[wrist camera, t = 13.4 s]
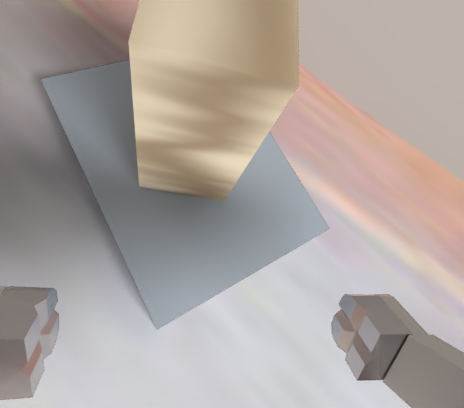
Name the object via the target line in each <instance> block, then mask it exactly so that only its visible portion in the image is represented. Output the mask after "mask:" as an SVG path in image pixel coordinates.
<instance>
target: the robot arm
mask: <svg viewBox="0 0 464 408" xmlns="http://www.w3.org/2000/svg"><path fill="white" fill-rule="evenodd" d="M57 301H58V298H57V290H56V289H54V288H39V287H15V286H10V287H5V286H0V400H6V399H19V398H31V397H33V395H34V393H35V391H36V388H37V386H38V384H39V381H40V379H41V377H42V374H43V372H44V361H43V359H45V358H46V357H47V356H48V355H50V354H51V353H52V350H53V348H54V345H55V343H56V339H57V335H58V331H59V314H58V313H57V312H56V311H55V310H54V307H55V305H56V303H57ZM339 306H340V308H341V310H340V311H338V312H337V313H336V314H335V315H334V317H333V320H332V323H331V326H332V335H333V338H334V341H335V342H336V344H337V346H338V347H339V348H340V349H342V350H343V351H344V352H345V353H346V357H345V360H346V362H347V364H348V366H349V367H350V369H351V371H352V373H353V374H354V376H355V378H356V380H383V382H384V383H385V384H386V385H387V386H388V387H389V388H390V389H392V390H393V391H394V392H395V393H396V394H397V395H398V396H399V397H400V398H401V399H403V400H404V401H405V402H406V403H407V404H408V405H409V406H410V407H411V408H464V353H463V352H462V351H460V350H458V349H456V348H455V347H453V346H451V345H450V344H448V343H446V342H444V341H443V340H441V339H439V338H438V337H436V336H434V335H428V334H427V332H426V331H425V330H424V329H423V328H422V327H421V326H420V325H419V324H418V323H417V322H416V321H415V320H414V318H413V317H412V316H411V315H410V314H409V313H408V312H407V311H406V310H405V309H404V308H403V307H402V305H401V304H400V303H399V302H398V301H397V300H396V299H395V298H394V297H392V296H391V295H389V294H374V295H365V294H345V295H344V296H343V297H342V298H341V300H340V303H339Z"/></svg>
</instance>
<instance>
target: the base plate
mask: <svg viewBox="0 0 464 408" xmlns="http://www.w3.org/2000/svg"><path fill="white" fill-rule="evenodd" d="M41 82H42V84H43V86H44V88H45V90H46V92H47V95H48V97H49V99H50V101H51V103H52V105H53V107H54V110H55V112H56V114H57V116H58V118H59V120H60V123H61V125H62V127H63V129H64V131H65V133H66V135H67V138H68V140H69V142H70V144H71V146H72V148H73V151H74V153H75V155H76V157H77V159H78V161H79V163H80V166H81V168H82V170H83V172H84V174H85V176H86V179H87V181H88V183H89V185H90V187H91V189H92V191H93V194H94V196H95V198H96V200H97V202H98V204H99V206H100V209H101V211H102V213H103V215H104V217H105V219H106V222H107V224H108V226H109V228H110V230H111V232H112V234H113V237H114V239H115V241H116V243H117V245H118V247H119V250H120V252H121V254H122V256H123V258H124V260H125V262H126V265H127V267H128V269H129V271H130V273H131V275H132V278H133V280H134V282H135V284H136V286H137V288H138V290H139V293H140V295H141V297H142V299H143V301H144V303H145V306H146V308H147V310H148V312H149V314H150V316H151V318H152V321H153V323H154V325H155V327H156V329H159V328H161V327H163V326H164V325H166V324H168V323H169V322H171V321H173V320H174V319H176V318H178V317H180V316H181V315H183V314H185V313H186V312H188V311H190V310H192V309H193V308H195V307H197V306H198V305H200V304H202V303H204V302H205V301H207V300H209V299H210V298H212V297H214V296H215V295H217V294H219V293H221V292H222V291H224V290H226V289H227V288H229V287H231V286H233V285H234V284H236V283H238V282H239V281H241V280H243V279H245V278H246V277H248V276H250V275H251V274H253V273H255V272H256V271H258V270H260V269H262V268H263V267H265V266H267V265H268V264H270V263H272V262H274V261H275V260H277V259H279V258H280V257H282V256H284V255H286V254H287V253H289V252H291V251H292V250H294V249H296V248H297V247H299V246H301V245H303V244H304V243H306V242H308V241H309V240H311V239H313V238H315V237H316V236H318V235H320V234H321V233H323V232H325V231H327V230H328V229H330V228H329V226H328V225H327V223H326V221H325V220H324V218H323V217H322V215H321V213H320V212H319V210H318V208H317V207H316V205H315V204H314V202H313V200H312V199H311V197H310V196H309V194H308V192H307V191H306V189H305V187H304V186H303V184H302V183H301V181H300V179H299V178H298V176H297V175H296V173H295V171H294V170H293V168H292V166H291V165H290V163H289V162H288V160H287V158H286V157H285V155H284V154H283V152H282V150H281V149H280V147H279V145H278V144H277V142H276V141H275V139H274V137H273V136H272V134H271V132H270V131H269V132H268V134H267V136H266V137H265V139H264V140H263V142H262V143H261V145H260V146H259V148H258V149H257V151H256V153H255V154H254V156H253V157H252V159H251V160H250V162H249V163H248V165H247V166H246V168H245V170H244V171H243V173H242V174H241V176H240V177H239V179H238V180H237V182H236V184H235V185H234V187H233V188H232V190H231V191H230V193H229V194H228V196H227V197H226V199H225V201H220V200H214V199H208V198H203V197H197V196H191V195H185V194H179V193H173V192H167V191H161V190H155V189H149V188H143V187H139V179H138V165H137V152H136V138H135V124H134V110H133V97H132V83H131V69H130V60H126V61H121V62H117V63H112V64H107V65H103V66H98V67H94V68H89V69H85V70H80V71H75V72H71V73H66V74H62V75H57V76H52V77H48V78H43V79H41Z"/></svg>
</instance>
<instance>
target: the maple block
mask: <svg viewBox="0 0 464 408" xmlns="http://www.w3.org/2000/svg"><path fill="white" fill-rule="evenodd" d="M128 42H129V56H130V69H131V83H132V97H133V110H134V124H135V138H136V152H137V165H138V179H139V187H143V188H149V189H155V190H161V191H167V192H173V193H179V194H185V195H191V196H197V197H203V198H208V199H214V200H220V201H225V199H226V197H227V196H228V194H229V193H230V191H231V190H232V188H233V187H234V185H235V184H236V182H237V180H238V179H239V177H240V176H241V174H242V173H243V171H244V170H245V168H246V166H247V165H248V163H249V162H250V160H251V159H252V157H253V156H254V154H255V153H256V151H257V149H258V148H259V146H260V145H261V143H262V142H263V140H264V139H265V137H266V136H267V134H268V132H269V131H270V129H271V128H272V126H273V125H274V123H275V122H276V120H277V118H278V117H279V115H280V114H281V112H282V111H283V109H284V108H285V106H286V105H287V103H288V101H289V100H290V98H291V97H292V95H293V94H294V92H295V91H296V89H297V87H298V86H299V55H298V53H299V49H298V47H299V46H298V0H140V1H139V4H138V8H137V12H136V15H135V19H134V22H133V26H132V29H131V33H130V36H129V40H128Z"/></svg>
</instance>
